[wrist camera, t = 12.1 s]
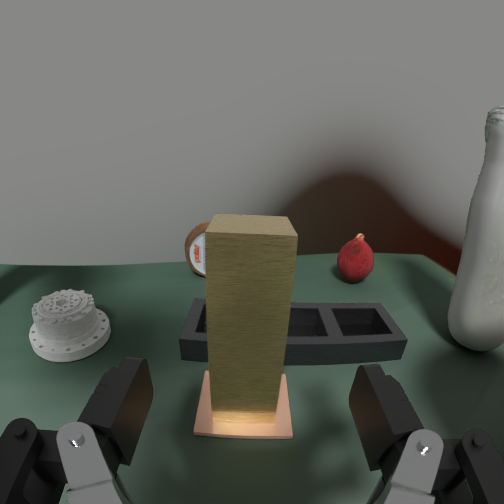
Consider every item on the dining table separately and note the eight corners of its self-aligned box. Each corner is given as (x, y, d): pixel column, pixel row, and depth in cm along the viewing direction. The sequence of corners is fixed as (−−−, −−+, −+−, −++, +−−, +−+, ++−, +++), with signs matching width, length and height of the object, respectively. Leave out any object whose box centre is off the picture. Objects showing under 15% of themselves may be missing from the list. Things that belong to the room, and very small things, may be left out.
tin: (277, 270, 49) (281, 220, 46) (283, 277, 46) (287, 225, 43) (185, 272, 46) (184, 220, 43) (185, 281, 43) (183, 225, 40)
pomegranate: (360, 294, 41) (370, 241, 38) (327, 282, 44) (334, 232, 42) (374, 282, 45) (383, 235, 42) (344, 273, 48) (350, 227, 46)
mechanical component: (118, 355, 26) (106, 309, 33) (109, 318, 24) (100, 278, 32) (29, 370, 20) (36, 321, 28) (14, 333, 19) (27, 289, 27)
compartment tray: (375, 320, 34) (380, 302, 33) (400, 359, 26) (407, 339, 25) (195, 317, 33) (194, 298, 33) (181, 359, 26) (179, 338, 25)
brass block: (274, 423, 19) (297, 235, 14) (212, 421, 19) (204, 232, 14) (271, 383, 23) (287, 216, 18) (217, 381, 23) (215, 214, 18)
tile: (292, 438, 18) (292, 435, 18) (193, 434, 18) (193, 431, 17) (284, 377, 24) (285, 373, 24) (205, 373, 24) (205, 370, 24)
